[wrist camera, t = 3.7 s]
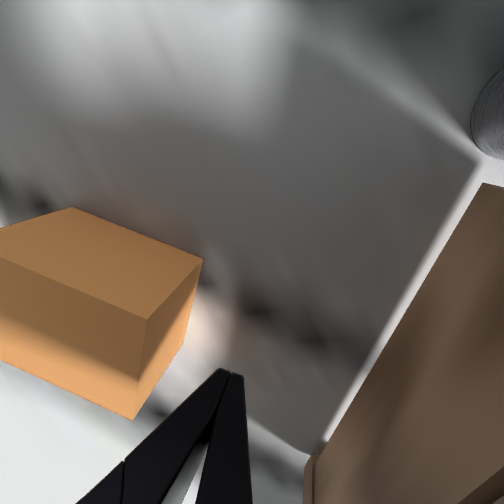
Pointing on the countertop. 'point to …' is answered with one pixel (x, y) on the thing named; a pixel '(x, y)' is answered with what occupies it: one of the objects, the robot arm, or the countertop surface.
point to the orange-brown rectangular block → (93, 306)
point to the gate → (432, 387)
